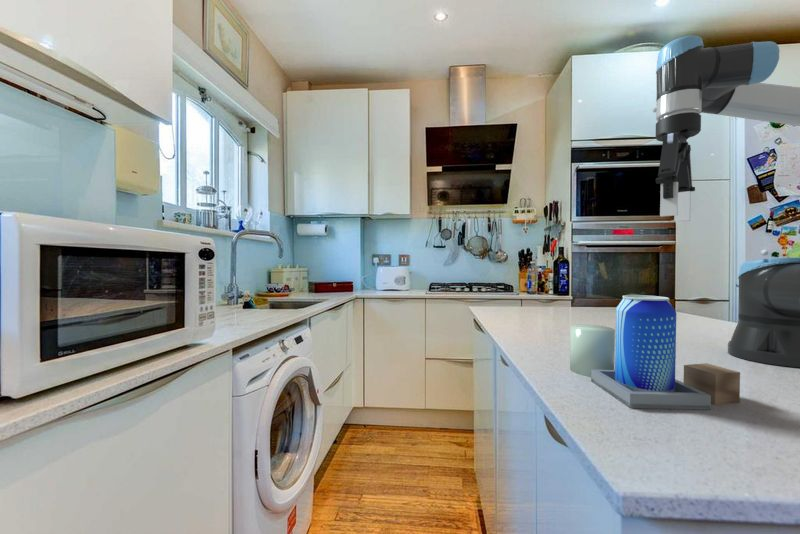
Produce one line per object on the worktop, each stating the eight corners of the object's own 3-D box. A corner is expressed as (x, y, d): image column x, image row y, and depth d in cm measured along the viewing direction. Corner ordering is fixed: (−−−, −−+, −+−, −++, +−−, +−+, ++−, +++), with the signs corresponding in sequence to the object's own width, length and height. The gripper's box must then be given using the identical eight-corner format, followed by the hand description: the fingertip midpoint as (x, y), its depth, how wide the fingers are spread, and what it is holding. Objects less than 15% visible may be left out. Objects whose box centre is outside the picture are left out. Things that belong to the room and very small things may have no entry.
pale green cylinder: (601, 365, 76) (601, 324, 75) (623, 378, 68) (623, 332, 67) (563, 365, 76) (564, 324, 76) (580, 377, 68) (581, 331, 68)
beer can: (654, 382, 64) (656, 294, 63) (687, 400, 55) (689, 299, 55) (605, 380, 64) (607, 294, 64) (631, 398, 56) (632, 299, 56)
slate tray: (656, 382, 65) (657, 370, 65) (710, 409, 53) (711, 395, 53) (591, 381, 66) (591, 369, 66) (629, 407, 54) (630, 393, 54)
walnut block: (706, 391, 61) (706, 363, 61) (739, 403, 56) (740, 372, 56) (683, 393, 60) (683, 364, 60) (715, 405, 55) (715, 374, 55)
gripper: (668, 136, 85) (667, 224, 85) (640, 106, 68) (638, 215, 69) (709, 128, 79) (707, 221, 80) (689, 92, 63) (687, 211, 63)
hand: (675, 218), depth 74 cm, fingers open, 13 cm apart
